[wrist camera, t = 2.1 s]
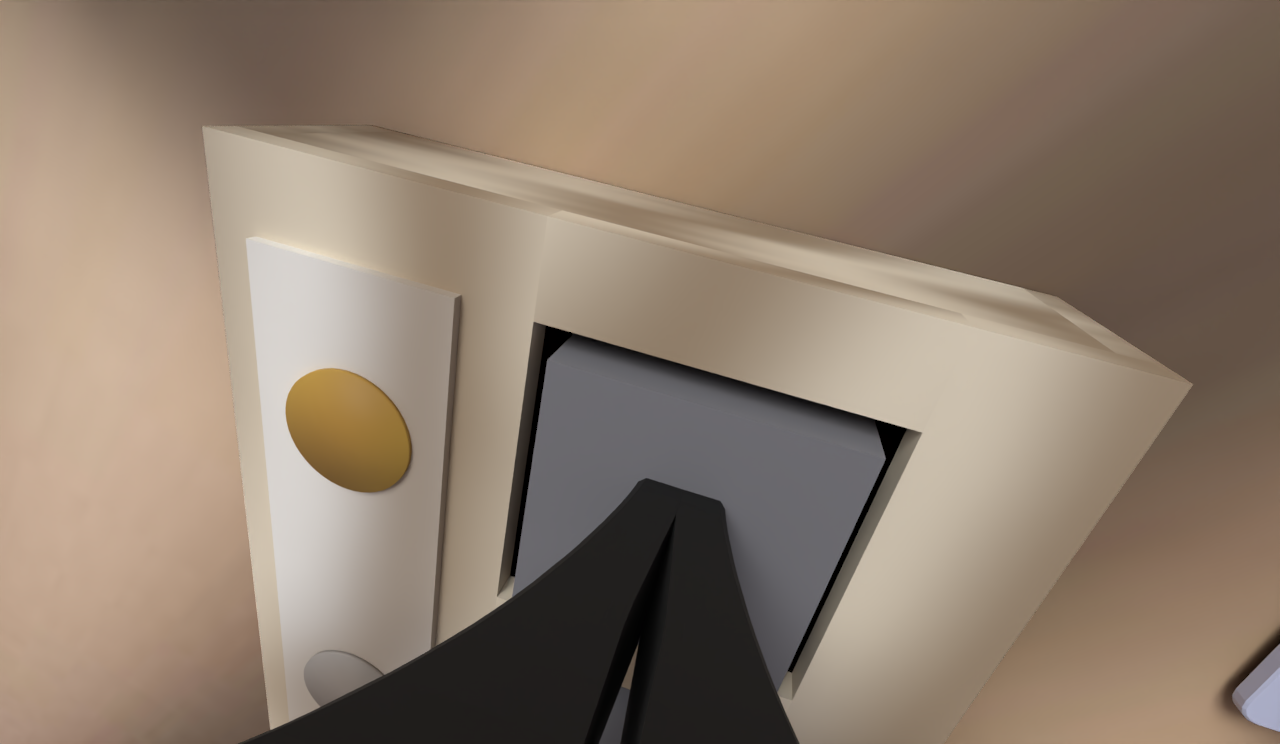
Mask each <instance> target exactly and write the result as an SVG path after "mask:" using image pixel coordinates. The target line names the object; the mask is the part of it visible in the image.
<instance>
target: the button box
mask: <svg viewBox="0 0 1280 744" xmlns="http://www.w3.org/2000/svg"><path fill="white" fill-rule="evenodd" d="M202 131H203V140H204V149H205V158H206V166H207V175H208V184H209V193H210V202H211V210H212V219H213V228H214V237H215V246H216V255H217V263H218V272H219V281H220V290H221V299H222V307H223V316H224V325H225V334H226V343H227V351H228V360H229V369H230V378H231V387H232V395H233V404H234V413H235V422H236V431H237V440H238V448H239V457H240V466H241V475H242V484H243V492H244V501H245V510H246V519H247V528H248V536H249V545H250V554H251V563H252V572H253V580H254V589H255V598H256V607H257V616H258V624H259V633H260V642H261V651H262V660H263V669H264V677H265V686H266V695H267V704H268V713H269V721H270V730H272V729H274V728H276V727H279V726H281V725H283V724H285V723H288V722H290V721H292V720H294V719H296V718H298V717H301V716H303V715H305V714H307V713H309V712H311V711H313V710H315V709H317V708H319V707H321V706H323V705H325V704H327V703H329V702H331V701H333V700H335V699H337V698H339V697H341V696H343V695H345V694H347V693H349V692H351V691H353V690H355V689H357V688H359V687H361V686H363V685H365V684H367V683H369V682H371V681H373V680H375V679H377V678H379V677H381V676H383V675H385V674H387V673H389V672H391V671H393V670H395V669H397V668H398V667H400V666H402V665H404V664H406V663H408V662H409V661H411V660H413V659H415V658H416V657H418V656H420V655H422V654H424V653H425V652H427V651H429V650H430V649H432V648H434V647H435V646H437V645H439V644H440V643H442V642H444V641H445V640H447V639H449V638H450V637H452V636H454V635H455V634H457V633H459V632H460V631H462V630H464V629H465V628H467V627H468V626H470V625H472V624H473V623H475V622H476V621H478V620H479V619H481V618H482V617H484V616H485V615H487V614H488V613H490V612H491V611H493V610H494V609H496V608H497V607H499V606H500V605H502V604H503V603H505V602H506V601H507V600H509V599H510V598H512V594H513V587H514V580H515V577H513V576H510V572H511V566H512V559H513V552H514V545H515V538H516V531H517V524H518V517H519V510H520V503H521V496H522V489H523V482H524V475H525V468H526V461H527V454H528V447H529V440H530V433H531V426H532V419H533V412H534V405H535V398H536V391H537V384H538V377H539V370H540V363H541V356H542V350H543V343H544V336H545V329H546V325H547V326H551V327H554V328H558V329H561V330H565V331H568V332H572V333H575V334H579V335H582V336H586V337H589V338H593V339H596V340H600V341H603V342H607V343H610V344H614V345H617V346H621V347H624V348H628V349H631V350H635V351H638V352H642V353H645V354H649V355H652V356H656V357H659V358H663V359H666V360H670V361H673V362H677V363H680V364H684V365H687V366H691V367H694V368H698V369H701V370H705V371H708V372H712V373H715V374H719V375H722V376H726V377H729V378H733V379H736V380H740V381H743V382H747V383H750V384H754V385H757V386H761V387H764V388H768V389H771V390H775V391H778V392H782V393H785V394H789V395H792V396H796V397H799V398H803V399H806V400H810V401H813V402H817V403H820V404H824V405H827V406H831V407H834V408H838V409H841V410H845V411H848V412H852V413H855V414H859V415H862V416H866V417H869V418H873V419H876V420H880V421H883V422H887V423H890V424H894V425H897V426H901V427H904V428H907V430H906V432H905V434H904V436H903V438H902V440H901V442H900V445H899V447H898V449H897V451H896V453H895V455H894V457H893V459H892V462H891V464H890V466H889V468H888V470H887V472H886V474H885V476H884V479H883V481H882V483H881V485H880V487H879V489H878V491H877V493H876V496H875V498H874V500H873V502H872V504H871V506H870V508H869V510H868V512H867V515H866V517H865V519H864V521H863V523H862V525H861V527H860V529H859V532H858V534H857V536H856V538H855V540H854V542H853V544H852V546H851V549H850V551H849V553H848V555H847V557H846V559H845V561H844V563H843V566H842V568H841V570H840V572H839V574H838V576H837V578H836V580H835V583H834V585H833V587H832V589H831V591H830V593H829V595H828V597H827V600H826V602H825V604H824V606H823V608H822V610H821V612H820V614H819V616H818V619H817V621H816V623H815V625H814V627H813V629H812V631H811V633H810V636H809V638H808V640H807V642H806V644H805V646H804V648H803V650H802V653H801V655H800V657H799V659H798V661H797V663H796V665H795V667H794V670H793V672H792V673H791V672H788V671H787V673H786V675H785V677H784V679H783V681H782V683H781V686H780V688H779V690H778V692H777V693H778V696H779V698H780V700H781V703H782V705H783V708H784V710H785V712H786V714H787V717H788V719H789V721H790V723H791V726H792V728H793V730H794V732H795V734H796V737H797V739H798V741H799V743H800V744H944V743H945V741H946V740H947V738H948V737H949V735H950V734H951V733H952V731H953V730H954V728H955V727H956V725H957V724H958V723H959V721H960V720H961V718H962V717H963V715H964V714H965V712H966V711H967V710H968V708H969V707H970V705H971V704H972V702H973V701H974V699H975V698H976V697H977V695H978V694H979V692H980V691H981V689H982V688H983V686H984V685H985V684H986V682H987V681H988V679H989V678H990V676H991V675H992V674H993V672H994V671H995V669H996V668H997V666H998V665H999V663H1000V662H1001V661H1002V659H1003V658H1004V656H1005V655H1006V653H1007V652H1008V650H1009V649H1010V648H1011V646H1012V645H1013V643H1014V642H1015V640H1016V639H1017V637H1018V636H1019V635H1020V633H1021V632H1022V630H1023V629H1024V627H1025V626H1026V625H1027V623H1028V622H1029V620H1030V619H1031V617H1032V616H1033V614H1034V613H1035V612H1036V610H1037V609H1038V607H1039V606H1040V604H1041V603H1042V601H1043V600H1044V599H1045V597H1046V596H1047V594H1048V593H1049V591H1050V590H1051V588H1052V587H1053V586H1054V584H1055V583H1056V581H1057V580H1058V578H1059V577H1060V576H1061V574H1062V573H1063V571H1064V570H1065V568H1066V567H1067V565H1068V564H1069V563H1070V561H1071V560H1072V558H1073V557H1074V555H1075V554H1076V552H1077V551H1078V550H1079V548H1080V547H1081V545H1082V544H1083V542H1084V541H1085V539H1086V538H1087V537H1088V535H1089V534H1090V532H1091V531H1092V529H1093V528H1094V526H1095V525H1096V524H1097V522H1098V521H1099V519H1100V518H1101V516H1102V515H1103V514H1104V512H1105V511H1106V509H1107V508H1108V506H1109V505H1110V503H1111V502H1112V501H1113V499H1114V498H1115V496H1116V495H1117V493H1118V492H1119V490H1120V489H1121V488H1122V486H1123V485H1124V483H1125V482H1126V480H1127V479H1128V477H1129V476H1130V475H1131V473H1132V472H1133V470H1134V469H1135V467H1136V466H1137V465H1138V463H1139V462H1140V460H1141V459H1142V457H1143V456H1144V454H1145V453H1146V452H1147V450H1148V449H1149V447H1150V446H1151V444H1152V443H1153V441H1154V440H1155V439H1156V437H1157V436H1158V434H1159V433H1160V431H1161V430H1162V428H1163V427H1164V426H1165V424H1166V423H1167V421H1168V420H1169V418H1170V417H1171V416H1172V414H1173V413H1174V411H1175V410H1176V408H1177V407H1178V405H1179V404H1180V403H1181V401H1182V400H1183V398H1184V397H1185V395H1186V394H1187V392H1188V391H1189V390H1190V388H1191V387H1192V385H1193V384H1192V383H1190V382H1189V381H1187V380H1186V379H1184V378H1182V377H1181V376H1179V375H1178V374H1176V373H1175V372H1173V371H1172V370H1170V369H1168V368H1167V367H1165V366H1164V365H1162V364H1161V363H1159V362H1158V361H1156V360H1154V359H1153V358H1151V357H1150V356H1148V355H1147V354H1145V353H1144V352H1142V351H1140V350H1139V349H1137V348H1136V347H1134V346H1133V345H1131V344H1130V343H1128V342H1126V341H1125V340H1123V339H1122V338H1120V337H1119V336H1117V335H1116V334H1114V333H1113V332H1111V331H1109V330H1108V329H1106V328H1105V327H1103V326H1102V325H1100V324H1099V323H1097V322H1095V321H1094V320H1092V319H1091V318H1089V317H1088V316H1086V315H1085V314H1083V313H1081V312H1080V311H1078V310H1077V309H1075V308H1074V307H1072V306H1071V305H1069V304H1067V303H1066V302H1064V301H1063V300H1061V299H1060V298H1058V297H1056V296H1052V295H1048V294H1044V293H1040V292H1036V291H1032V290H1028V289H1024V288H1020V287H1016V286H1012V285H1008V284H1004V283H1000V282H996V281H992V280H988V279H984V278H980V277H976V276H972V275H968V274H964V273H960V272H956V271H952V270H948V269H944V268H940V267H936V266H932V265H928V264H924V263H920V262H916V261H912V260H908V259H904V258H900V257H896V256H892V255H888V254H884V253H880V252H876V251H872V250H868V249H864V248H860V247H856V246H852V245H848V244H844V243H840V242H836V241H832V240H828V239H824V238H820V237H816V236H812V235H808V234H804V233H800V232H796V231H792V230H788V229H784V228H780V227H776V226H772V225H768V224H764V223H760V222H756V221H752V220H748V219H744V218H740V217H736V216H732V215H728V214H724V213H720V212H716V211H712V210H708V209H704V208H700V207H696V206H692V205H688V204H684V203H680V202H676V201H672V200H668V199H664V198H660V197H656V196H652V195H648V194H644V193H640V192H636V191H632V190H628V189H624V188H620V187H616V186H612V185H608V184H604V183H600V182H596V181H592V180H588V179H584V178H580V177H576V176H572V175H568V174H564V173H560V172H556V171H552V170H548V169H544V168H540V167H536V166H532V165H528V164H524V163H520V162H516V161H512V160H508V159H504V158H500V157H496V156H492V155H488V154H484V153H480V152H476V151H472V150H468V149H464V148H460V147H456V146H452V145H448V144H444V143H440V142H436V141H432V140H428V139H424V138H420V137H416V136H412V135H408V134H404V133H400V132H396V131H392V130H388V129H384V128H380V127H376V126H372V125H310V126H202ZM637 650H638V645H637V648H636V650H635V653H634V655H633V658H632V660H631V663H630V665H629V668H628V671H627V673H626V676H625V678H624V681H623V683H622V686H621V687H624V688H627V689H629V690H630V688H631V682H632V677H633V672H634V666H635V661H636V656H637Z"/></svg>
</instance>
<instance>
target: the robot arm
mask: <svg viewBox="0 0 1280 744" xmlns="http://www.w3.org/2000/svg"><path fill="white" fill-rule="evenodd" d="M638 642H639V645H638ZM637 645H638V650H637V656H636V661H635V666H634V672H633V677H632V682H631V688H630V693H629V699H628V704H627V710H626V715H625V720H624V726H623V731H622V737H621V742H620V744H800V743H799V741H798V739H797V737H796V734H795V732H794V730H793V728H792V726H791V723H790V721H789V719H788V717H787V714H786V712H785V710H784V708H783V705H782V703H781V700H780V698H779V696H778V693H777V691H776V688H775V686H774V683H773V681H772V678H771V676H770V673H769V670H768V668H767V665H766V662H765V660H764V657H763V654H762V651H761V649H760V646H759V643H758V640H757V638H756V635H755V632H754V629H753V626H752V623H751V619H750V616H749V613H748V610H747V606H746V603H745V600H744V596H743V593H742V589H741V586H740V582H739V579H738V575H737V571H736V567H735V563H734V559H733V555H732V550H731V546H730V541H729V535H728V529H727V523H726V514H725V508H724V506H723V504H722V503H721V501H719V500H716V499H713V498H709V497H706V496H703V495H700V494H696V493H693V492H690V491H687V490H683V489H680V488H677V487H674V486H671V485H667V484H664V483H661V482H658V481H655V480H651V479H648V478H645V479H643V480H641V481H638V483H637V484H636V485H635V487H634V488H633V490H632V491H631V492H630V493H629V494H628V496H627V497H626V498H625V499H624V500H623V501H622V503H621V504H620V505H619V506H618V507H617V508H616V509H615V510H614V511H613V512H612V513H611V514H610V515H609V516H608V517H607V518H606V519H605V520H604V521H603V522H602V523H601V524H600V525H599V526H598V527H597V528H596V529H595V530H594V531H593V532H591V533H590V534H589V535H588V536H587V537H586V538H585V539H584V540H583V541H582V542H581V543H580V544H579V545H577V546H576V547H575V548H574V549H573V550H572V551H571V552H569V553H568V554H567V555H566V556H565V557H563V558H562V559H561V560H560V561H558V562H557V563H556V564H555V565H553V566H552V567H551V568H550V569H548V570H547V571H546V572H545V573H543V574H542V575H541V576H540V577H538V578H537V579H536V580H535V581H533V582H532V583H531V584H530V585H528V586H527V587H525V588H524V589H523V590H521V591H520V592H519V593H517V594H516V595H515V596H513V597H512V598H510V599H509V600H507V601H506V602H505V603H503V604H502V605H500V606H499V607H497V608H496V609H494V610H493V611H491V612H490V613H488V614H487V615H485V616H484V617H482V618H481V619H479V620H478V621H476V622H475V623H473V624H472V625H470V626H468V627H467V628H465V629H464V630H462V631H460V632H459V633H457V634H455V635H454V636H452V637H450V638H449V639H447V640H445V641H444V642H442V643H440V644H439V645H437V646H435V647H434V648H432V649H430V650H429V651H427V652H425V653H424V654H422V655H420V656H418V657H416V658H415V659H413V660H411V661H409V662H408V663H406V664H404V665H402V666H400V667H398V668H397V669H395V670H393V671H391V672H389V673H387V674H385V675H383V676H381V677H379V678H377V679H375V680H373V681H371V682H369V683H367V684H365V685H363V686H361V687H359V688H357V689H355V690H353V691H351V692H349V693H347V694H345V695H343V696H341V697H339V698H337V699H335V700H333V701H331V702H329V703H327V704H325V705H323V706H321V707H319V708H317V709H315V710H313V711H311V712H309V713H307V714H305V715H303V716H301V717H298V718H296V719H294V720H292V721H290V722H288V723H285V724H283V725H281V726H279V727H276V728H274V729H272V730H269V731H267V732H265V733H262V734H260V735H258V736H255V737H253V738H250V739H248V740H246V741H243V742H241V743H239V744H599V742H600V739H601V737H602V734H603V732H604V729H605V727H606V724H607V722H608V719H609V716H610V714H611V711H612V709H613V706H614V704H615V701H616V699H617V696H618V694H619V691H620V688H621V686H622V683H623V681H624V678H625V676H626V673H627V671H628V668H629V665H630V663H631V660H632V658H633V655H634V653H635V650H636V648H637ZM1232 700H1233V703H1234V704H1235V705H1236V707H1237V708H1238V709H1239V710H1240V712H1241V713H1242V714H1243V716H1244V717H1245V718H1246V719H1247V720H1248V721H1250V722H1252V723H1254V724H1257V725H1260V726H1263V727H1266V728H1269V729H1272V730H1275V731H1278V732H1280V644H1279V645H1278V646H1277V647H1276V648H1275V649H1274V650H1273V651H1272V652H1271V653H1270V654H1269V655H1268V656H1267V657H1266V658H1265V659H1264V660H1263V661H1262V662H1261V663H1260V664H1259V665H1258V666H1257V667H1256V668H1255V669H1254V670H1253V671H1252V672H1251V673H1250V674H1249V675H1248V677H1247V678H1246V679H1245V680H1244V681H1243V682H1242V683H1241V684H1240V685H1239V686H1238V687H1237V688H1236V689H1235V691H1234V693H1233V694H1232Z"/></svg>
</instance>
